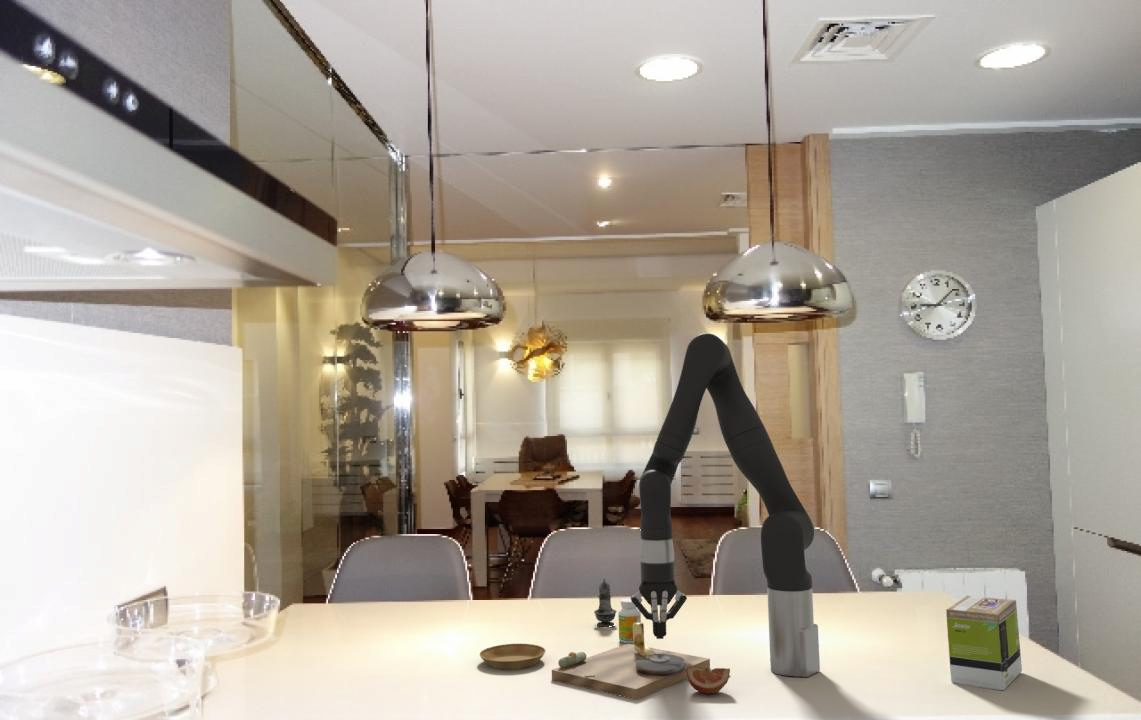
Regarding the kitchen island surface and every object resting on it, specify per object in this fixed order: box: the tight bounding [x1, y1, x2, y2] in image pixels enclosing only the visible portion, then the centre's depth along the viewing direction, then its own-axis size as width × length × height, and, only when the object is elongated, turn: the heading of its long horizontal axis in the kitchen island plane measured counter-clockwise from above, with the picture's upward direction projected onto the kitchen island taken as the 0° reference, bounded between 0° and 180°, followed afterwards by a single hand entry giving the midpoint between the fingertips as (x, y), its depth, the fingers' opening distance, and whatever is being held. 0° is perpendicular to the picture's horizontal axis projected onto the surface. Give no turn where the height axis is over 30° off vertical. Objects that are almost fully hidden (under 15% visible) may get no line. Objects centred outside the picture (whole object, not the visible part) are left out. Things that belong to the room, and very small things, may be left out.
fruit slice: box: [687, 667, 731, 695], centre depth 171 cm, size 8×7×5 cm
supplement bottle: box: [618, 598, 642, 644], centre depth 213 cm, size 5×5×10 cm
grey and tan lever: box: [632, 622, 685, 675], centre depth 186 cm, size 20×10×6 cm, turn 14°
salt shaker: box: [593, 578, 617, 628], centre depth 230 cm, size 6×6×12 cm
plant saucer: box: [479, 643, 547, 670], centre depth 197 cm, size 15×15×3 cm
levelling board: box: [551, 643, 711, 700], centre depth 185 cm, size 22×26×5 cm
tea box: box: [945, 595, 1023, 691], centre depth 176 cm, size 15×10×15 cm
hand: (659, 638), depth 195 cm, fingers closed
